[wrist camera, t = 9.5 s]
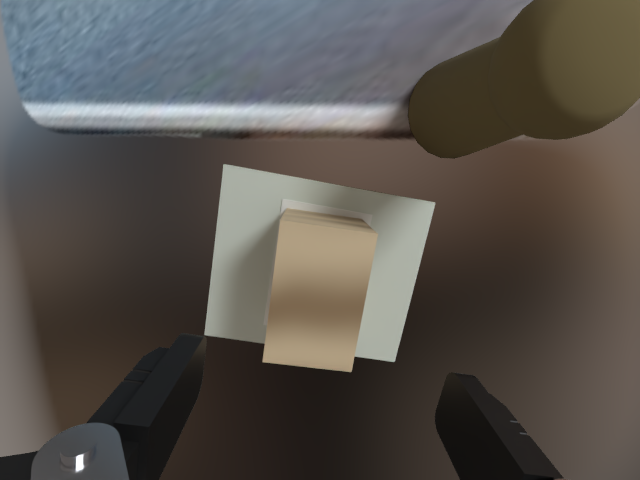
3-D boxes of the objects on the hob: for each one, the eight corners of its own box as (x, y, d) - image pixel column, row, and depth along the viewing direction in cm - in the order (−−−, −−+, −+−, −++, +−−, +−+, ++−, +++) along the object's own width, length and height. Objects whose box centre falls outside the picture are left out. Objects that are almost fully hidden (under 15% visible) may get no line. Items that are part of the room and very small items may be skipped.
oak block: (286, 207, 21) (280, 219, 16) (361, 219, 21) (378, 234, 16) (272, 319, 22) (262, 362, 17) (342, 328, 23) (351, 371, 18)
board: (226, 164, 21) (223, 164, 20) (430, 201, 22) (436, 203, 21) (207, 329, 23) (203, 335, 22) (391, 355, 24) (394, 362, 23)
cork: (397, 147, 21) (490, 124, 10) (422, 48, 20) (560, -95, 9) (482, 167, 21) (656, 165, 11) (512, 72, 20) (744, -37, 9)
